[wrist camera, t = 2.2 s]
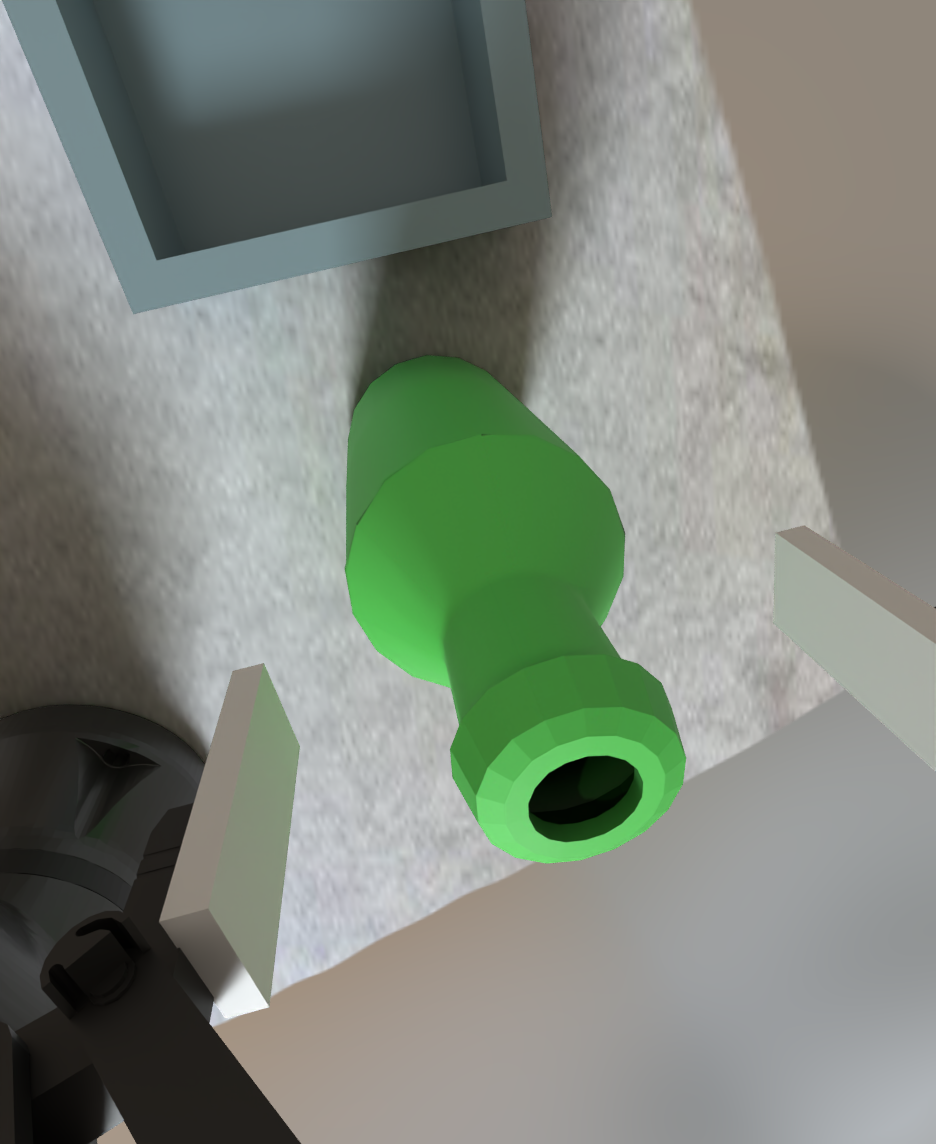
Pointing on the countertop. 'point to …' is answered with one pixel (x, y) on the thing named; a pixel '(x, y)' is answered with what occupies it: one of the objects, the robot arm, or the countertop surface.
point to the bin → (286, 130)
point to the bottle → (506, 609)
